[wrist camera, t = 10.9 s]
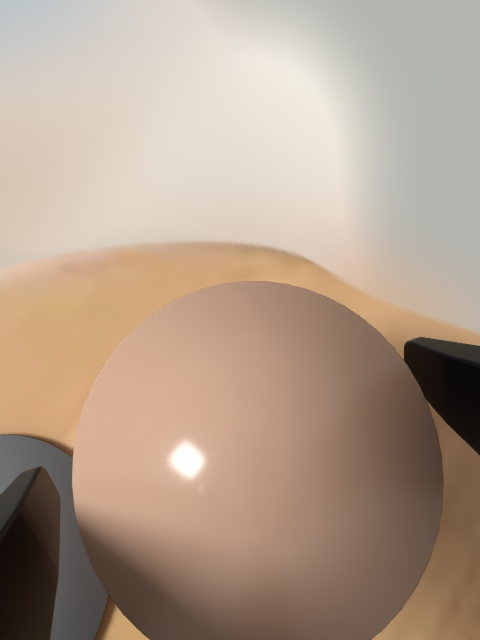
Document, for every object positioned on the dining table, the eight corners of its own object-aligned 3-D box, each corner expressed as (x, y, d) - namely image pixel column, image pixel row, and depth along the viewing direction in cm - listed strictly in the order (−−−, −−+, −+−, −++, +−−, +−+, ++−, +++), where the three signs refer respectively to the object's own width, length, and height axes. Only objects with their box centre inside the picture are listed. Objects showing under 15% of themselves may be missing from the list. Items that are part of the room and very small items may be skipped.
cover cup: (350, 418, 17) (478, 364, 8) (285, 598, 14) (377, 781, 6) (203, 346, 18) (188, 234, 9) (116, 503, 15) (-13, 542, 7)
